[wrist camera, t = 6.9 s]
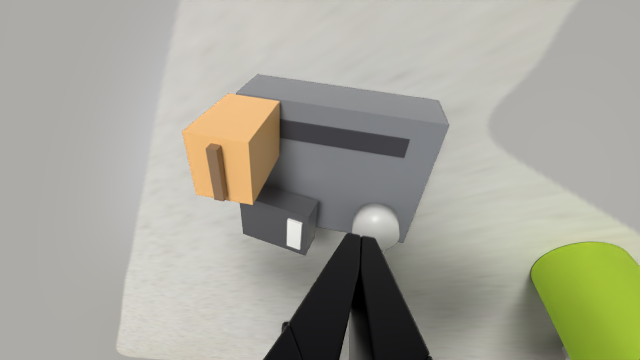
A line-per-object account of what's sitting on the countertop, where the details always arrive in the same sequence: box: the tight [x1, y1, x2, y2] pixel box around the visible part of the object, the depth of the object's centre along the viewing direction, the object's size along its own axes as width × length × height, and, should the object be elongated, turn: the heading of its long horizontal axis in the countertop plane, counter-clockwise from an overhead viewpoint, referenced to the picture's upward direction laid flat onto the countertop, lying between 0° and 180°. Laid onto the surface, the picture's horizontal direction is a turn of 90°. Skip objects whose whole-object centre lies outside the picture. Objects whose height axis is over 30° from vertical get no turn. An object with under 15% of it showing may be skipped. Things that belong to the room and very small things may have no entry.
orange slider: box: [182, 93, 280, 205], centre depth 13 cm, size 3×2×4 cm
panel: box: [236, 74, 449, 250], centre depth 16 cm, size 8×10×4 cm
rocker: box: [240, 185, 318, 255], centre depth 16 cm, size 3×4×2 cm
